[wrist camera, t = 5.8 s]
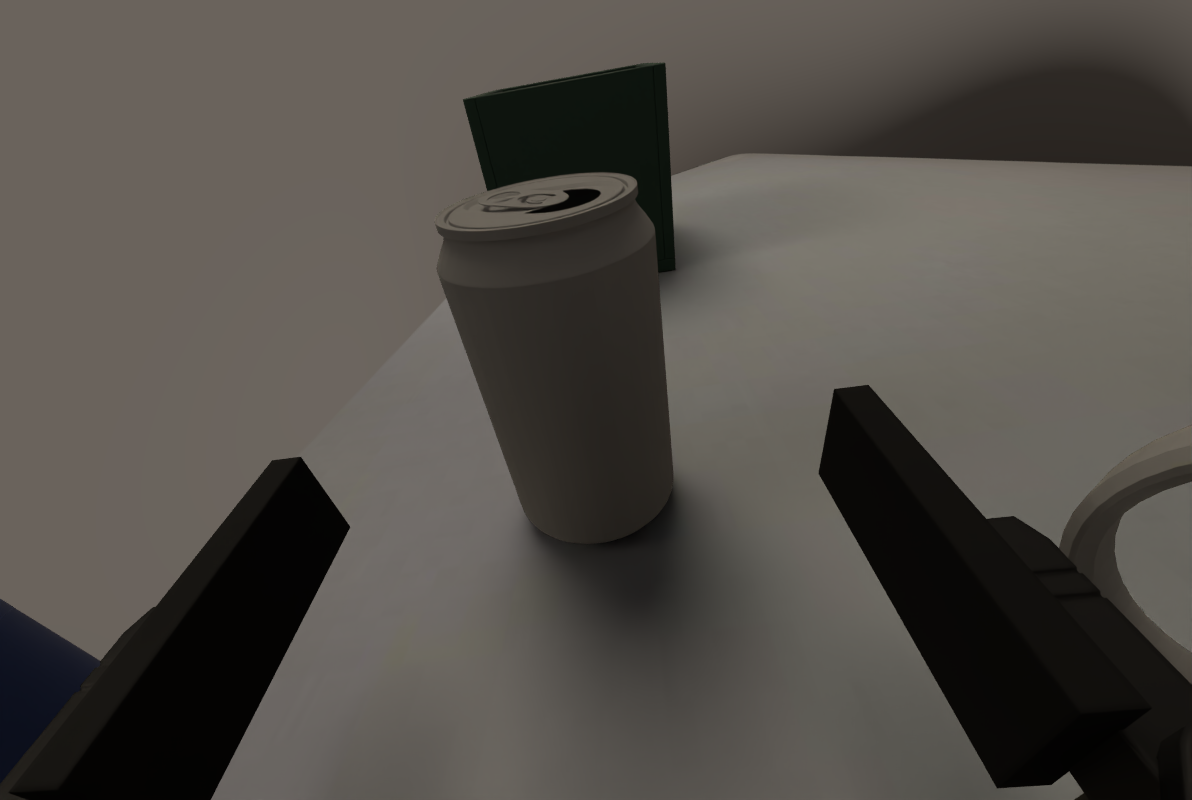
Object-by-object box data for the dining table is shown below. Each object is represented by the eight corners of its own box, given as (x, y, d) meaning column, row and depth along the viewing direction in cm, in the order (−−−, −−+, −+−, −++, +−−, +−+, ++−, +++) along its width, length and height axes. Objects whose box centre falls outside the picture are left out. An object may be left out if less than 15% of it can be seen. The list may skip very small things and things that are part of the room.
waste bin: (514, 294, 39) (462, 99, 31) (530, 244, 50) (494, 90, 42) (675, 270, 38) (665, 62, 30) (655, 224, 49) (643, 63, 41)
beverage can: (644, 577, 16) (592, 228, 9) (494, 531, 19) (366, 232, 12) (692, 455, 21) (681, 158, 14) (565, 432, 23) (503, 172, 16)
